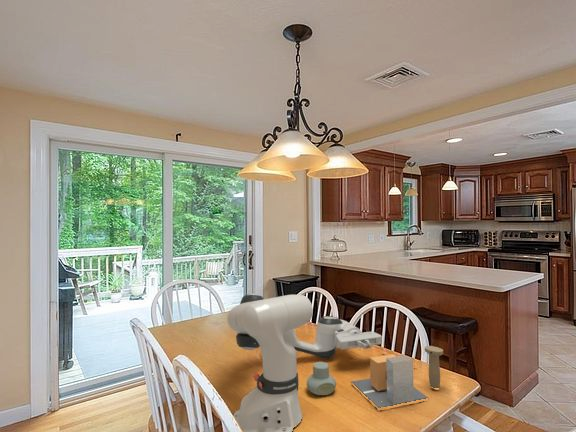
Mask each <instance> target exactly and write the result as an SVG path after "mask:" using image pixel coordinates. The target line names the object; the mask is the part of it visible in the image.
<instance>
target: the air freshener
mask: <svg viewBox="0 0 576 432" xmlns="http://www.w3.org/2000/svg"><path fill="white" fill-rule="evenodd" d="M312 370H313V371H312V374H310V376H309V377H308V378H307V379H306V380H307V381H306V387H307V389H308V391H309V392H311V393H312V394H314V395H316V396H320V395H326V396H327V395H330V394H332V393H333V392H334V391H335V389H336V386H337V381H336V379H335V378H334V377H333V376H332V375H331V374H330V366H329V363H327V362H324V361H316V362H315V363H313V365H312Z"/></svg>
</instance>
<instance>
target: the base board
mask: <svg viewBox="0 0 576 432" xmlns="http://www.w3.org/2000/svg"><path fill="white" fill-rule="evenodd" d="M351 383H353V384H354V385H355V386H356V387H357V388H358V389H359V390H360V391H361V392H362V393H363V394H364V395H365V396H366V397H368V399H369V400H371V401H372V402H373V403H374V404H375V405H376V406H377V407H378V408H381V407H387V406H393V405H394V404H393V403H392V402H390V401H389V400H388V399H387V389H386V390H380V391H377V390H376V389H375V388H374V387H373V386H372V385H371V381H370V378H365V379H357V380H352V381H350V384H351ZM426 398H428V399H429V397H428V396H427V395H425V394H424V393H422V392H421V391H420V390H418V389H417V388H416V387H414V401H416V400H421V399H426ZM381 401H382V402H381ZM409 402H411V401H409ZM404 403H407V402H404ZM400 404H401V403H400ZM395 405H397V404H395Z"/></svg>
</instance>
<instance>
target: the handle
mask: <svg viewBox="0 0 576 432" xmlns="http://www.w3.org/2000/svg"><path fill="white" fill-rule="evenodd" d="M424 352H425V353H426V354H428V356H429V357H428V381H429V387H430V386H431V387H433V388H439V387H441V386H440V384H441V369H440V367H441V366H440V356H442V355H444V349H443V348H440V347H438V346H433V345H425V346H424Z"/></svg>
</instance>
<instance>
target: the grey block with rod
mask: <svg viewBox="0 0 576 432" xmlns="http://www.w3.org/2000/svg"><path fill="white" fill-rule="evenodd" d="M413 366H414V359H412V358H411V357H409V356H407V355H399V356H397V357H392V358H386V370H387V371H386V377H387V399H388V400H389V401H390V402H392V403H393V404H394V405H395V404H400V403H404V402H409V401H414V388H415V387H414V368H413Z"/></svg>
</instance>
